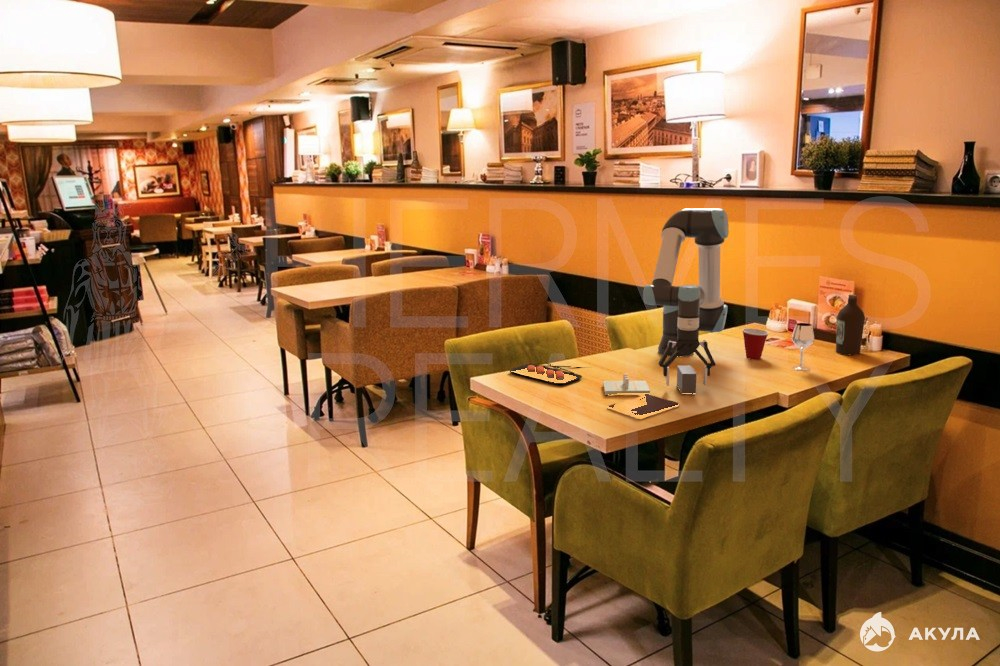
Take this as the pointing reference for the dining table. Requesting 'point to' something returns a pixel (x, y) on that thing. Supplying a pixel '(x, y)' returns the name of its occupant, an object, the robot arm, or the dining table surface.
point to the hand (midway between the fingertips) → (686, 384)
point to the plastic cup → (754, 342)
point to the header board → (625, 386)
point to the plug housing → (686, 379)
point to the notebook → (652, 405)
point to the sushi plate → (548, 371)
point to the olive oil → (850, 328)
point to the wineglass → (802, 340)
